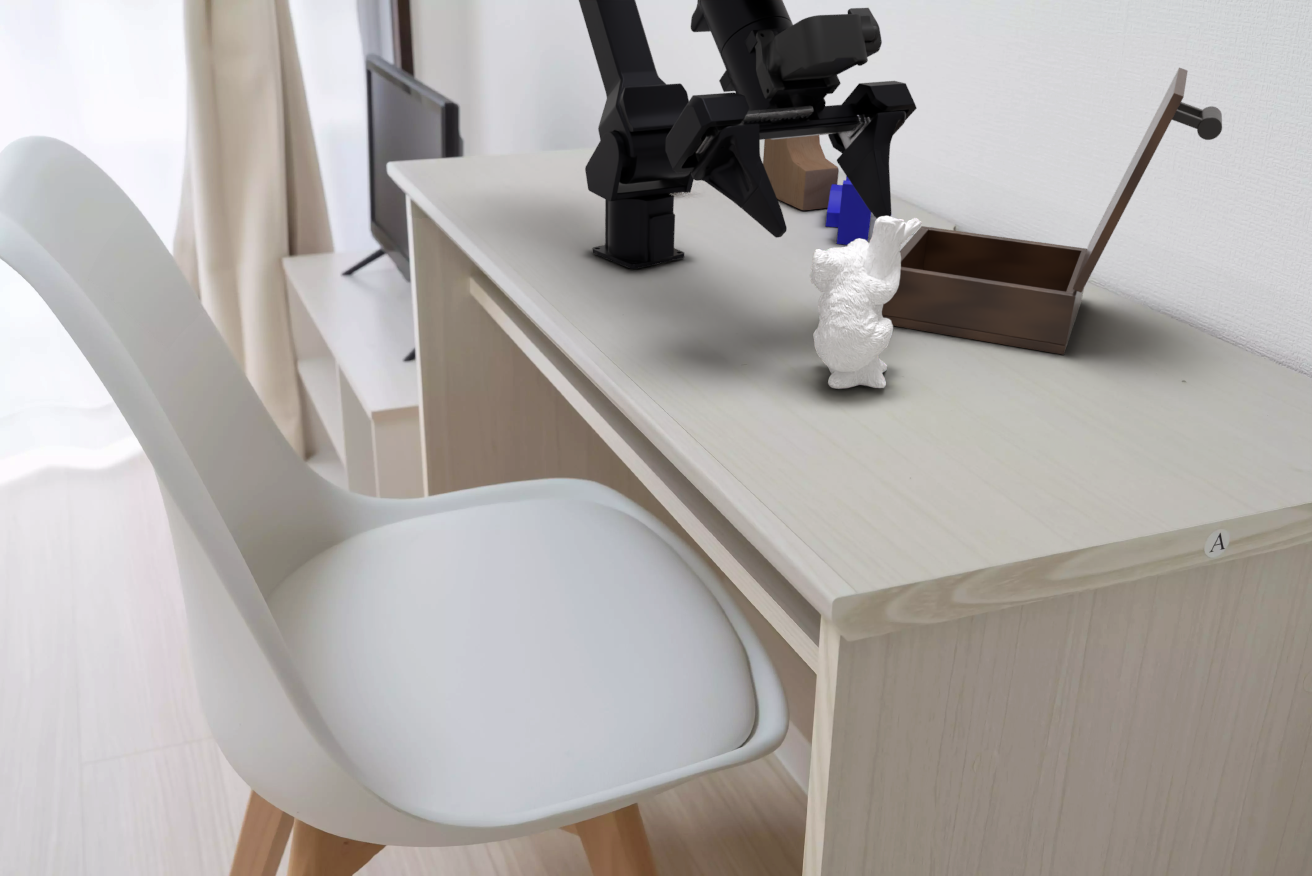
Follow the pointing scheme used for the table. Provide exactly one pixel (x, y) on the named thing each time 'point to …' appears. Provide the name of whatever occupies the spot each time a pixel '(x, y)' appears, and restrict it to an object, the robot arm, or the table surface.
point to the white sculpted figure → (858, 302)
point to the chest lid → (1169, 109)
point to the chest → (988, 289)
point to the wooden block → (799, 171)
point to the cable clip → (848, 213)
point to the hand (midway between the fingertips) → (835, 226)
